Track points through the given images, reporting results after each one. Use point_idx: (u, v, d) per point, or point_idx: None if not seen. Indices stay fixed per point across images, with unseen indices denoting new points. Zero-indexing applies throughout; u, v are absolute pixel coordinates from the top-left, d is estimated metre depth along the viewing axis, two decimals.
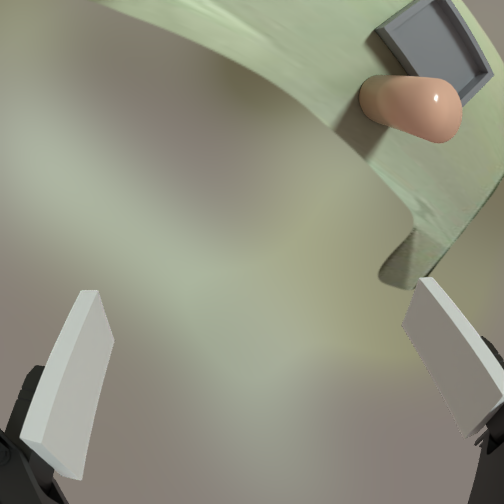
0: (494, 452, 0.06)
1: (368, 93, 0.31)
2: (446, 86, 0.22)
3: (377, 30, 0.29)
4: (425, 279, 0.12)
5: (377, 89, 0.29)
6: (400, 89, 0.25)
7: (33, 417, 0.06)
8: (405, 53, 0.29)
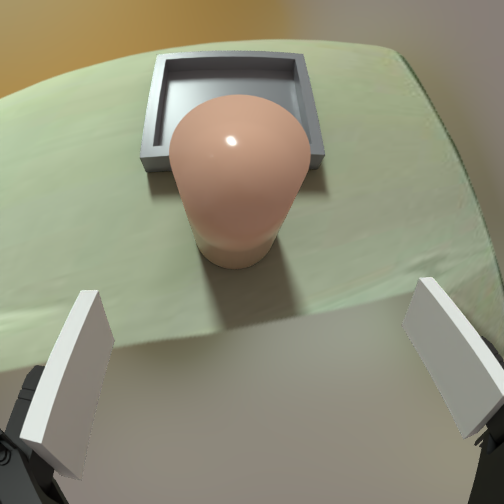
0: (494, 452, 0.06)
1: (199, 245, 0.22)
2: (209, 108, 0.14)
3: (147, 168, 0.26)
4: (425, 279, 0.12)
5: (192, 229, 0.21)
6: None
7: (33, 417, 0.06)
8: None
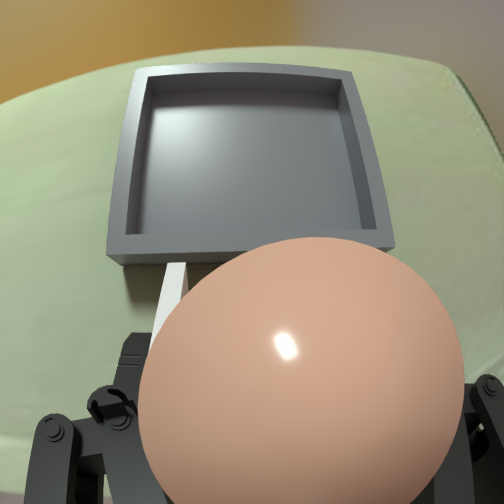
0: None
1: None
2: (235, 293, 0.05)
3: (121, 263, 0.17)
4: None
5: None
6: None
7: None
8: (187, 247, 0.15)
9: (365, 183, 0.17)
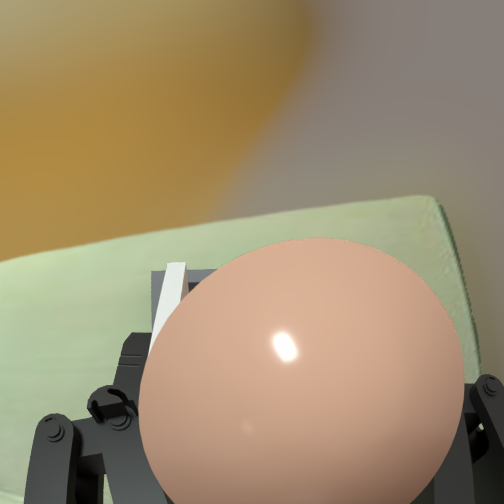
0: None
1: None
2: (235, 294, 0.05)
3: None
4: None
5: None
6: None
7: None
8: None
9: None
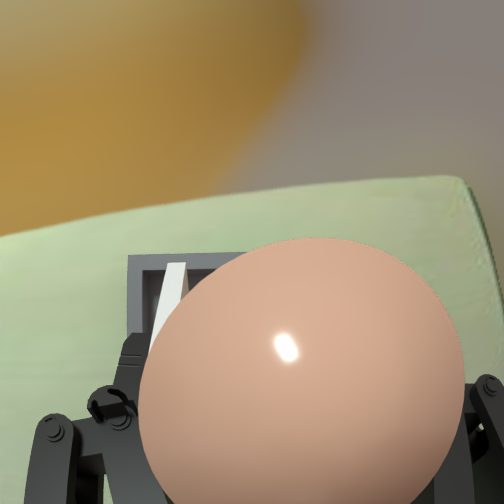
0: None
1: None
2: (235, 293, 0.05)
3: None
4: None
5: None
6: None
7: None
8: None
9: None
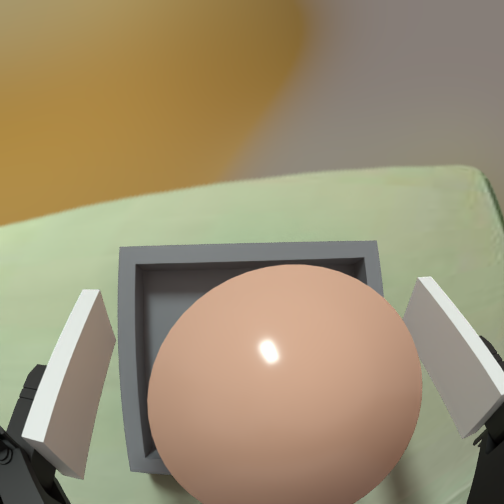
0: (493, 452, 0.06)
1: None
2: (224, 311, 0.07)
3: None
4: (424, 279, 0.12)
5: None
6: None
7: (35, 416, 0.06)
8: None
9: None
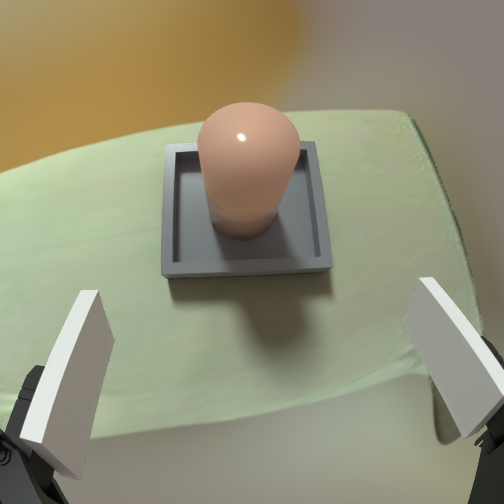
0: (494, 452, 0.06)
1: (214, 220, 0.28)
2: (225, 113, 0.19)
3: (168, 277, 0.29)
4: (425, 279, 0.12)
5: (209, 206, 0.26)
6: (203, 178, 0.21)
7: (33, 417, 0.06)
8: (208, 269, 0.27)
9: (316, 226, 0.29)
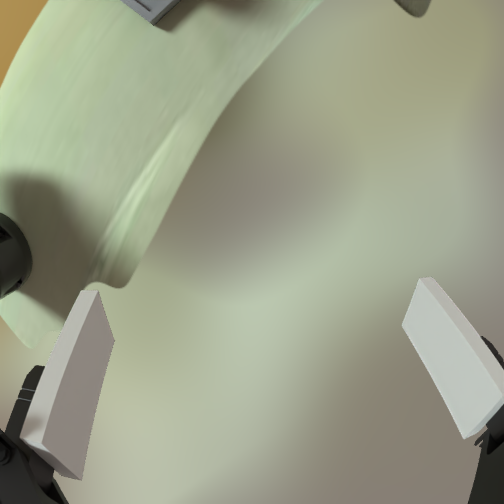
0: (494, 452, 0.06)
1: None
2: None
3: (154, 23, 0.30)
4: (425, 279, 0.12)
5: None
6: None
7: (33, 417, 0.06)
8: None
9: None
